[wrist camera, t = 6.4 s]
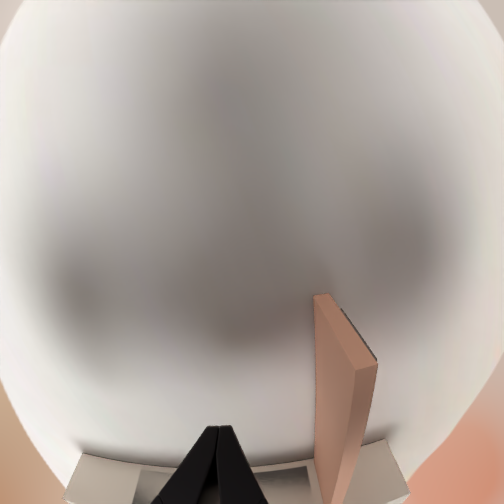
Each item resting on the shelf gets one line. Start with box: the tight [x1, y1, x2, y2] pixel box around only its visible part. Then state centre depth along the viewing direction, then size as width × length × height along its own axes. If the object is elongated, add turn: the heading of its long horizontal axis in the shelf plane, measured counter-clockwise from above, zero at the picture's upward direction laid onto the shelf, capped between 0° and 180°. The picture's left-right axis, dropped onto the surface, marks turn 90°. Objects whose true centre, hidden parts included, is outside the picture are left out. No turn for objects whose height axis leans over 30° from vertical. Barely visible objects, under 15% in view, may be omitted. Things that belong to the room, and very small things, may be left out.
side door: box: [313, 293, 378, 504], centre depth 9 cm, size 1×12×4 cm, turn 7°
